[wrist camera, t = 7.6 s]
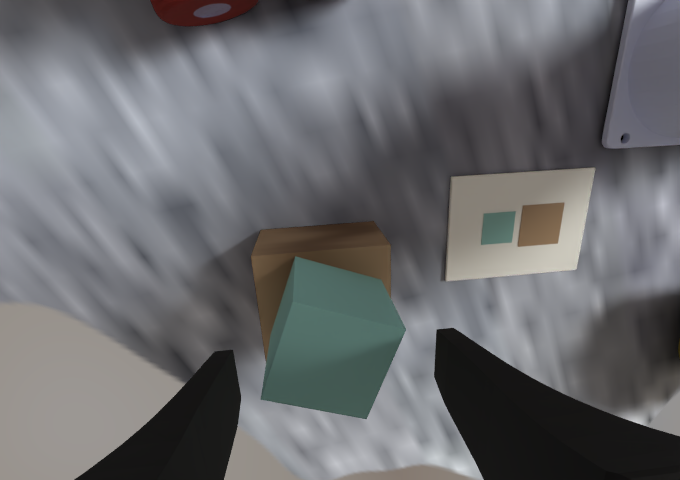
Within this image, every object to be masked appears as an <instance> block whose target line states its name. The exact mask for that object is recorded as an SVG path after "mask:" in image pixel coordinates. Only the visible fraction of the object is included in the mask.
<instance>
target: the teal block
mask: <svg viewBox="0 0 680 480" xmlns="http://www.w3.org/2000/svg"><path fill="white" fill-rule="evenodd" d="M405 331H406V328H405V326H404V324H403V322H402V320H401V318H400V316H399V314H398V312H397V310H396V308H395V306H394V304H393V302H392V300H391V298H390V296H389V294H388V292H387V290H386V288H385V286H384V284H383V282H382V280H381V279H377V278H373V277H370V276H366V275H362V274H358V273H355V272H351V271H347V270H344V269H340V268H336V267H333V266H329V265H325V264H322V263H318V262H314V261H311V260H307V259H303V258H300V257H296V256H295V259H294V262H293V265H292V268H291V271H290V275H289V278H288V281H287V284H286V287H285V290H284V293H283V297H282V300H281V303H280V306H279V309H278V312H277V316H276V319H275V322H274V325H273V328H272V331H271V335H270V341H269V348H268V355H267V362H266V368H265V375H264V382H263V388H262V395H261V400H266V401H272V402H277V403H282V404H288V405H293V406H299V407H304V408H309V409H315V410H320V411H325V412H331V413H336V414H341V415H347V416H352V417H358V418H363V419H367V417H368V414H369V412H370V410H371V408H372V405H373V403H374V401H375V399H376V396H377V394H378V392H379V390H380V387H381V385H382V383H383V381H384V378H385V376H386V374H387V372H388V369H389V367H390V365H391V362H392V360H393V358H394V356H395V353H396V351H397V349H398V347H399V344H400V342H401V340H402V338H403V335H404V333H405Z"/></svg>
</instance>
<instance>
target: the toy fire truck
mask: <svg viewBox="0 0 680 480" xmlns="http://www.w3.org/2000/svg"><path fill="white" fill-rule="evenodd" d="M150 1H151V3H152V5H153V8H154V10H155V12H156V14H157V15H158V16H159V17H160V19H162V20H163V21H165V22H166V23H169V24H172V25H178V26H201V25H208V24H214V23H218V22H222V21H225V20H229V19H231V18H234V17H236V16H239V15H241V14H243V13H245V12H247V11H248V10H250V9H251V8H253V7H254V6H255V5H256V4H257V2H258V0H150Z"/></svg>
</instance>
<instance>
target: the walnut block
mask: <svg viewBox="0 0 680 480" xmlns="http://www.w3.org/2000/svg"><path fill="white" fill-rule="evenodd" d="M295 256H296V257H300V258H303V259H307V260H311V261H314V262H318V263H322V264H325V265H329V266H333V267H336V268H340V269H344V270H347V271H351V272H355V273H358V274H362V275H366V276H370V277H373V278H377V279H381V280H382V282H383V284H384V286H385V288H386V290H387V292H388V294H389V296H390V298H391V245H390V243H389V242H388V241H387V239H386V238H385V236H384V235H383V233H382V232H381V231H380V229H379V228H378V226H377V225H376V224H375V222H374V221H369V222H356V223H343V224H330V225H317V226H304V227H291V228H278V229H265V230H261V231H260V233H259V236H258V239H257V241H256V244H255V247H254V249H253V252H252V255H251V261H252V268H253V275H254V282H255V289H256V296H257V303H258V310H259V317H260V324H261V331H262V338H263V345H264V352H265V359H266V362H267V355H268V348H269V341H270V335H271V331H272V328H273V325H274V322H275V319H276V316H277V312H278V309H279V306H280V303H281V300H282V297H283V293H284V290H285V287H286V284H287V281H288V278H289V275H290V271H291V268H292V265H293V262H294V259H295Z"/></svg>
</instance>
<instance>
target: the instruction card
mask: <svg viewBox="0 0 680 480" xmlns="http://www.w3.org/2000/svg"><path fill="white" fill-rule="evenodd" d="M595 169H596V168H593V167H591V168H576V169H560V170H545V171H529V172H514V173H498V174H483V175H467V176H452V177H451V182H450V199H449V217H448V235H447V252H446V270H445V281H456V280H467V279H479V278H490V277H501V276H512V275H523V274H534V273H545V272H556V271H567V270H576V268H577V263H578V258H579V253H580V247H581V242H582V237H583V232H584V226H585V221H586V216H587V211H588V205H589V200H590V195H591V190H592V184H593V179H594V174H595Z"/></svg>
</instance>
